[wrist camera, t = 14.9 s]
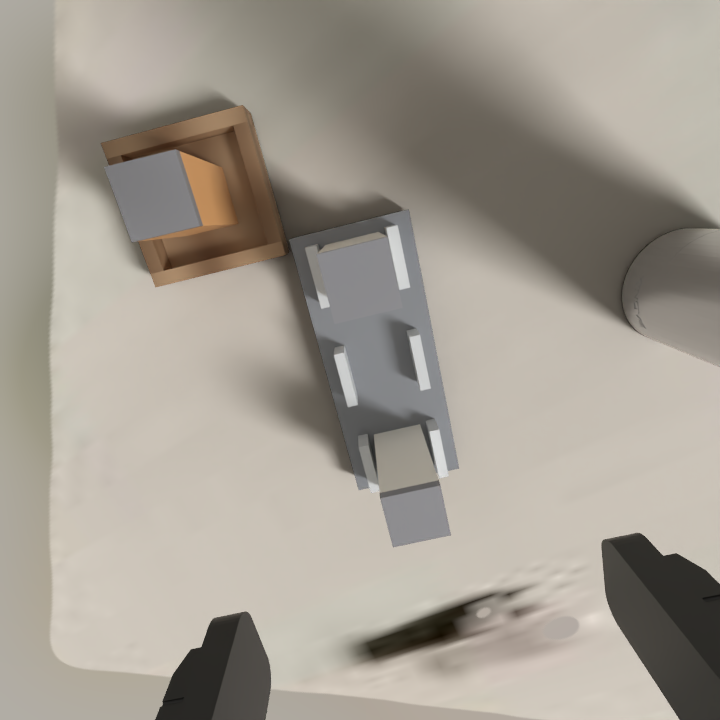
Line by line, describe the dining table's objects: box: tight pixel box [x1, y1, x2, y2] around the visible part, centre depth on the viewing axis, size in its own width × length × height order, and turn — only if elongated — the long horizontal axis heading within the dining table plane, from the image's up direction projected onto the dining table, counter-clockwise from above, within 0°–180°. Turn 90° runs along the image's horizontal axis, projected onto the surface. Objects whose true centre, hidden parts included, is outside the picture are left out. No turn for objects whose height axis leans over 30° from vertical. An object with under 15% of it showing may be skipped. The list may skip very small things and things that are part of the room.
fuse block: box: [289, 209, 459, 547], centre depth 32 cm, size 9×22×11 cm, turn 13°
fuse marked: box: [104, 149, 239, 242], centre depth 29 cm, size 4×4×9 cm
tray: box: [101, 105, 290, 287], centre depth 32 cm, size 10×10×2 cm
